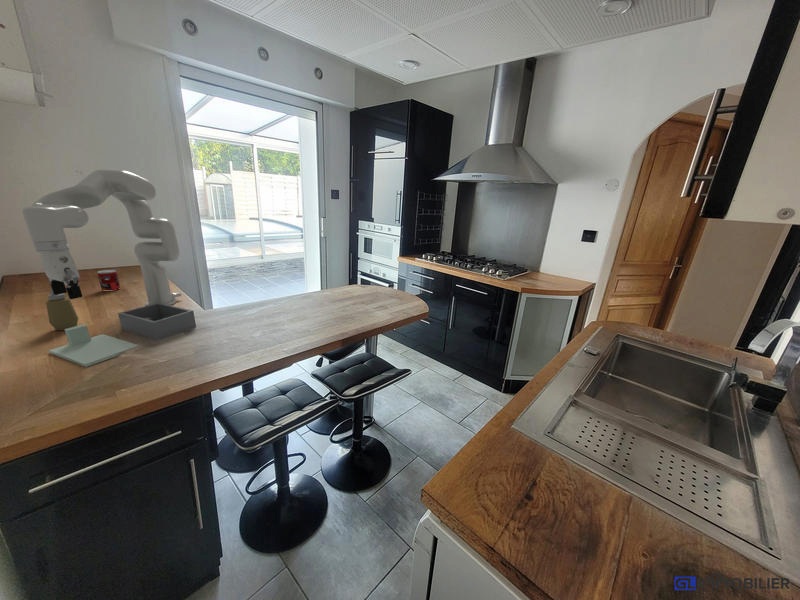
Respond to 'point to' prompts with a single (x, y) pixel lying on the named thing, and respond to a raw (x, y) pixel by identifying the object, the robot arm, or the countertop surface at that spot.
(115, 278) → the canned food
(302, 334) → the countertop surface
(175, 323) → the tub
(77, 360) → the lid
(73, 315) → the squeeze bottle
